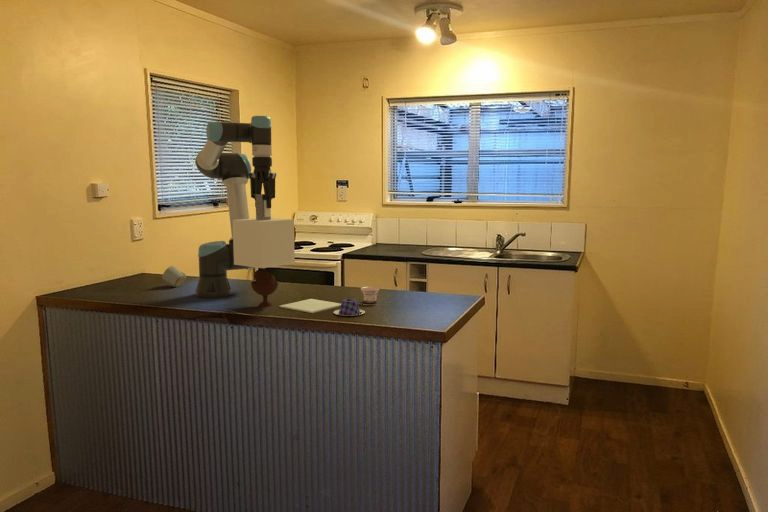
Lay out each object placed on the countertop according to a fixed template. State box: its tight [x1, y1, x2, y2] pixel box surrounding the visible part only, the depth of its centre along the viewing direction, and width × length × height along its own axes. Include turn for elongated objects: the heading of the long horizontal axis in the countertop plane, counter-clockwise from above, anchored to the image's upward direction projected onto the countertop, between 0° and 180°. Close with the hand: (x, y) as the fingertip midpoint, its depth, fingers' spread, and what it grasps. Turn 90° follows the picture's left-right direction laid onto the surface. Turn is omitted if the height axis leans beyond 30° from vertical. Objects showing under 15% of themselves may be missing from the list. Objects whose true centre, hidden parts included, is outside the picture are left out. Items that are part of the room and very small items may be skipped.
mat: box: [278, 298, 341, 314], centre depth 238 cm, size 18×18×1 cm
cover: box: [233, 193, 296, 269], centre depth 236 cm, size 17×17×28 cm
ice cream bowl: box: [250, 268, 279, 308], centre depth 239 cm, size 11×11×15 cm
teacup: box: [358, 286, 380, 306], centre depth 245 cm, size 12×12×6 cm
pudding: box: [333, 298, 366, 317], centre depth 226 cm, size 12×12×5 cm
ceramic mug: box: [161, 265, 187, 288], centre depth 282 cm, size 11×8×8 cm
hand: (263, 216), depth 235 cm, fingers closed on cover, 4 cm apart
